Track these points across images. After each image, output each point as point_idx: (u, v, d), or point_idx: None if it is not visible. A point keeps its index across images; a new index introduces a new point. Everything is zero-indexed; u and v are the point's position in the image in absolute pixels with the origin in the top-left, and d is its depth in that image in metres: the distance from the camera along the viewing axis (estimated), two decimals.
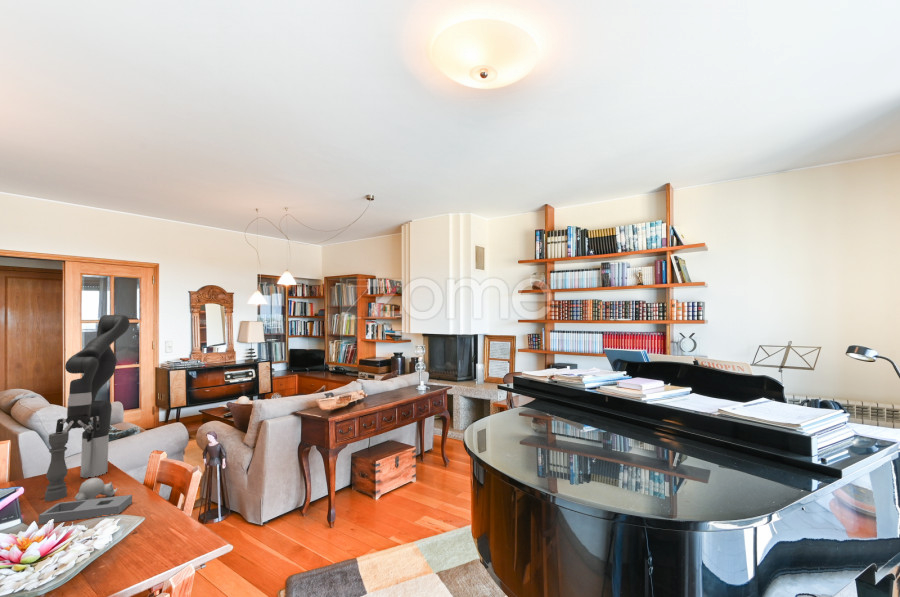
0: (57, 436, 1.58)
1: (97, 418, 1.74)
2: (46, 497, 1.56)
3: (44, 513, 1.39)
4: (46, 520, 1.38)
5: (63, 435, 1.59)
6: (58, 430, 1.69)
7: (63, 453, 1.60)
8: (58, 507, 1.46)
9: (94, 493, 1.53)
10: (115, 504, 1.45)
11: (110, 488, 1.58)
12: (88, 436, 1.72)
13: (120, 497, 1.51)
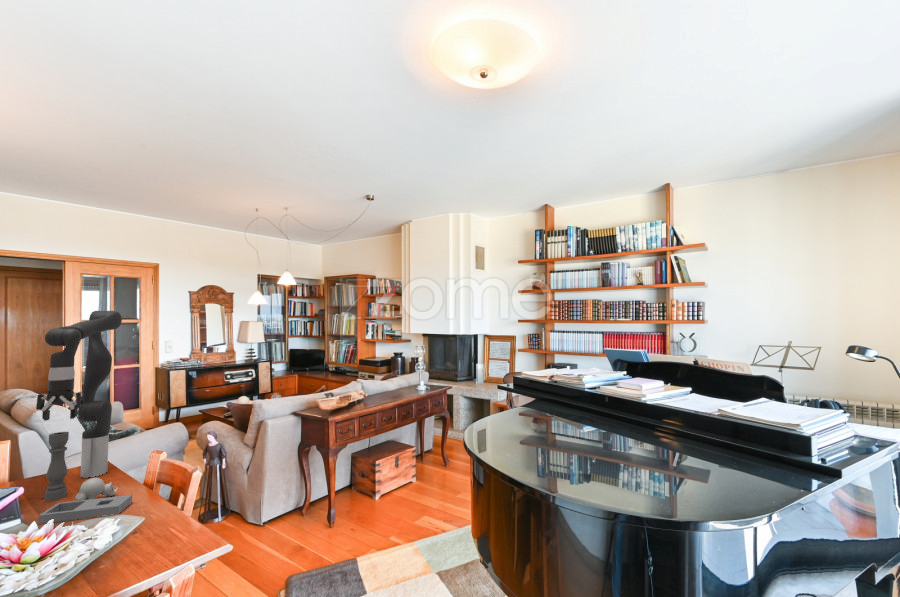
0: (57, 436, 1.58)
1: (81, 394, 1.63)
2: (46, 497, 1.56)
3: (44, 513, 1.39)
4: (46, 520, 1.38)
5: (63, 435, 1.59)
6: (39, 406, 1.58)
7: (63, 453, 1.60)
8: (58, 507, 1.46)
9: (95, 493, 1.53)
10: (115, 504, 1.45)
11: (110, 488, 1.58)
12: (71, 413, 1.61)
13: (120, 497, 1.51)
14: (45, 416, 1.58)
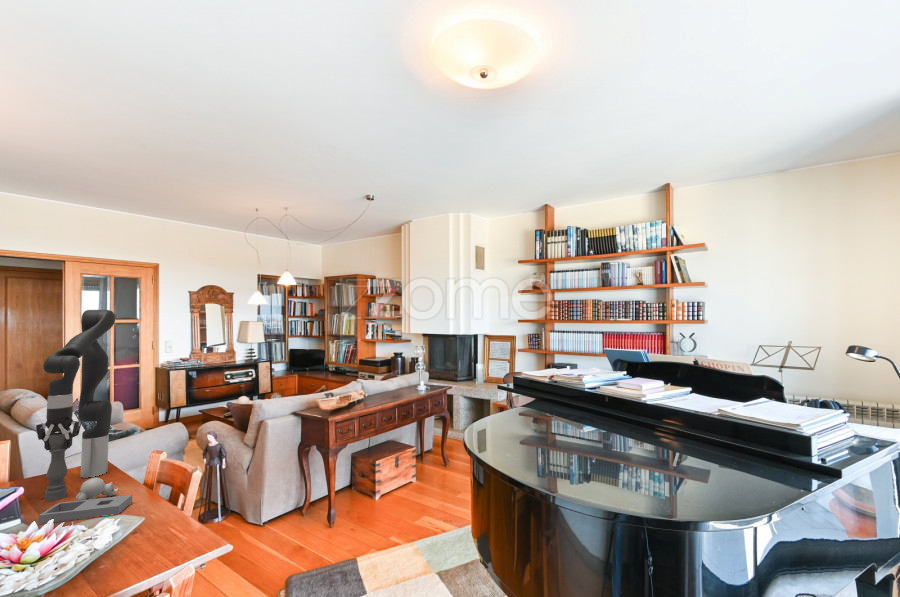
0: (57, 436, 1.58)
1: (79, 424, 1.62)
2: (46, 497, 1.56)
3: (44, 513, 1.39)
4: (46, 520, 1.38)
5: (63, 435, 1.59)
6: (40, 436, 1.57)
7: (63, 453, 1.60)
8: (58, 507, 1.46)
9: (95, 493, 1.53)
10: (115, 504, 1.45)
11: (111, 488, 1.58)
12: (66, 443, 1.60)
13: (120, 497, 1.51)
14: (47, 446, 1.58)
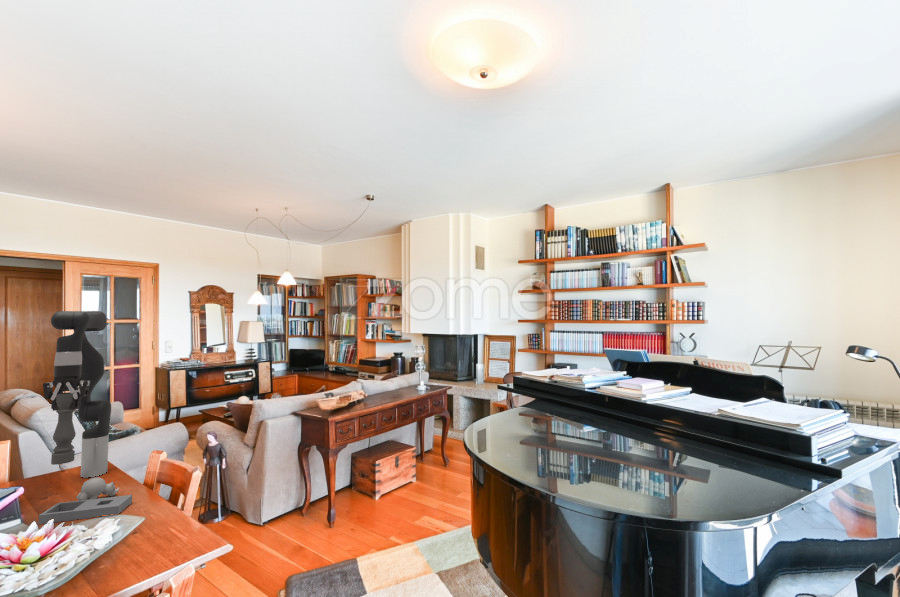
0: (65, 395, 1.48)
1: (88, 383, 1.52)
2: (53, 460, 1.45)
3: (44, 513, 1.39)
4: (46, 520, 1.38)
5: (71, 394, 1.49)
6: (47, 395, 1.48)
7: (71, 414, 1.50)
8: (58, 507, 1.46)
9: (96, 492, 1.54)
10: (115, 504, 1.45)
11: (112, 488, 1.58)
12: (74, 403, 1.50)
13: (120, 497, 1.51)
14: (54, 406, 1.48)
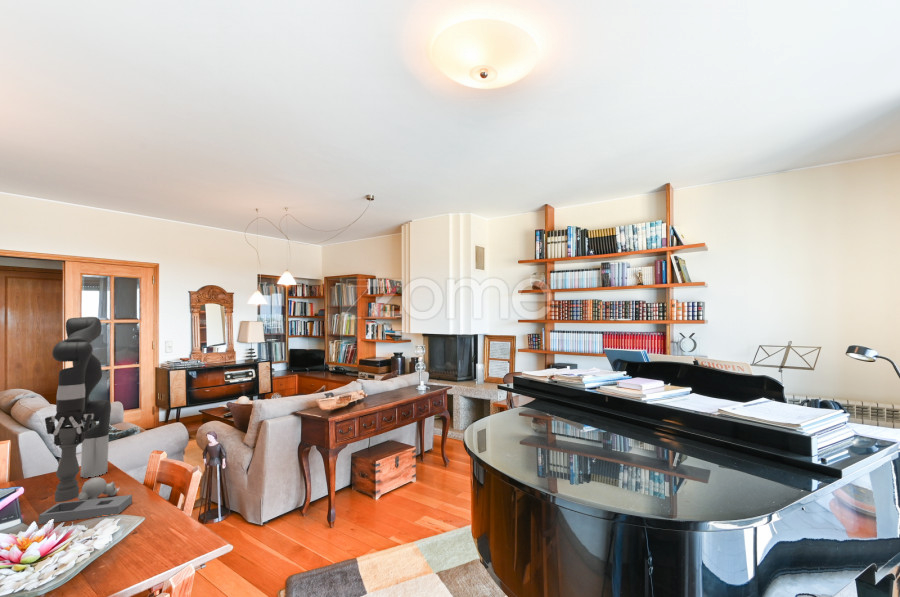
0: (68, 430, 1.43)
1: (92, 416, 1.47)
2: (57, 497, 1.41)
3: (44, 513, 1.39)
4: (46, 520, 1.38)
5: (75, 429, 1.45)
6: (49, 430, 1.43)
7: (75, 449, 1.45)
8: (58, 507, 1.46)
9: (97, 492, 1.54)
10: (115, 504, 1.45)
11: (112, 487, 1.59)
12: (78, 437, 1.45)
13: (120, 497, 1.51)
14: (57, 441, 1.43)
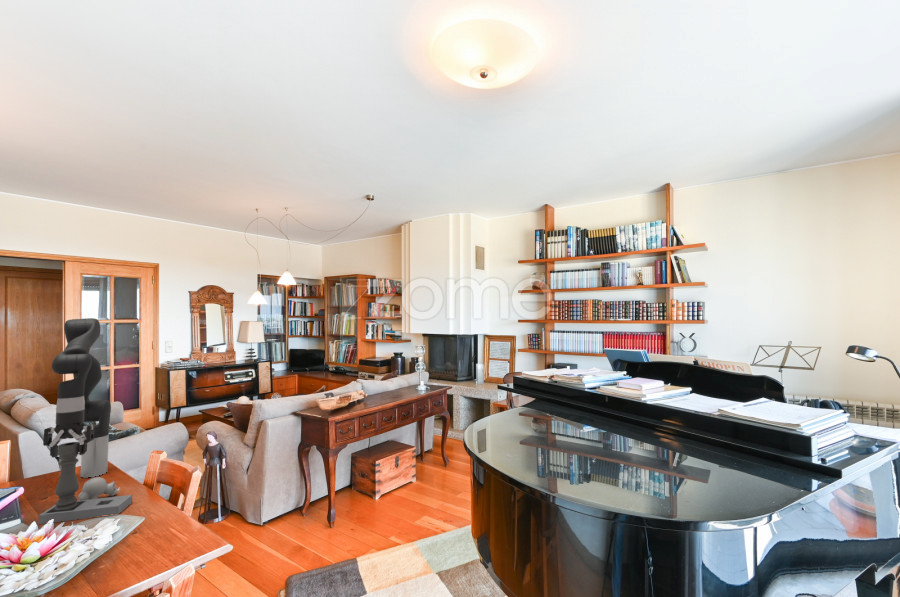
0: (68, 447, 1.43)
1: (92, 427, 1.47)
2: None
3: (44, 513, 1.39)
4: (46, 520, 1.38)
5: (74, 446, 1.44)
6: (46, 441, 1.42)
7: (74, 466, 1.45)
8: None
9: (97, 492, 1.54)
10: (115, 504, 1.45)
11: (113, 487, 1.59)
12: (81, 448, 1.45)
13: (120, 497, 1.51)
14: (53, 452, 1.43)
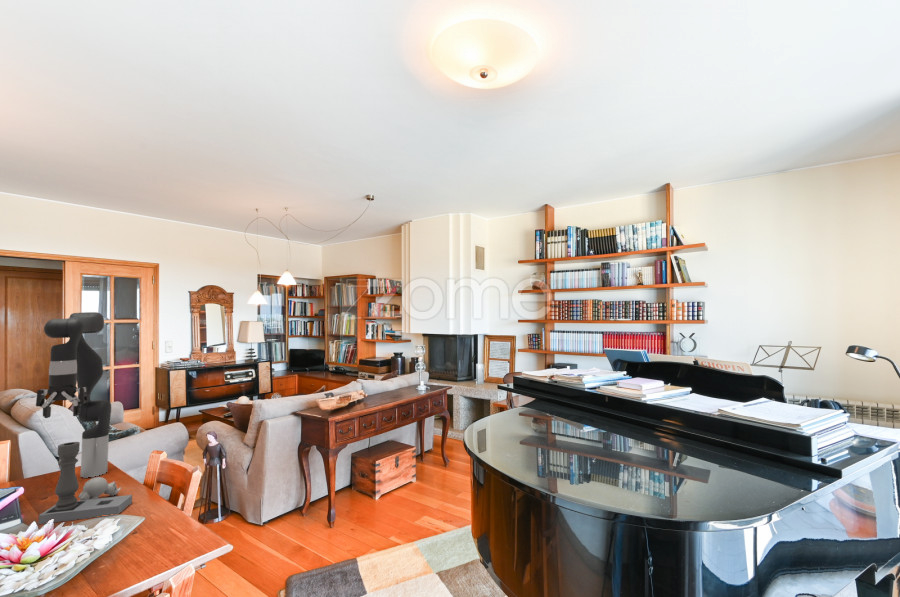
0: (67, 447, 1.43)
1: (84, 389, 1.51)
2: None
3: (44, 513, 1.39)
4: (46, 520, 1.38)
5: (74, 446, 1.44)
6: (39, 402, 1.46)
7: (74, 466, 1.45)
8: None
9: (98, 492, 1.54)
10: (115, 504, 1.45)
11: (113, 487, 1.59)
12: (74, 410, 1.49)
13: (120, 497, 1.51)
14: (46, 413, 1.47)
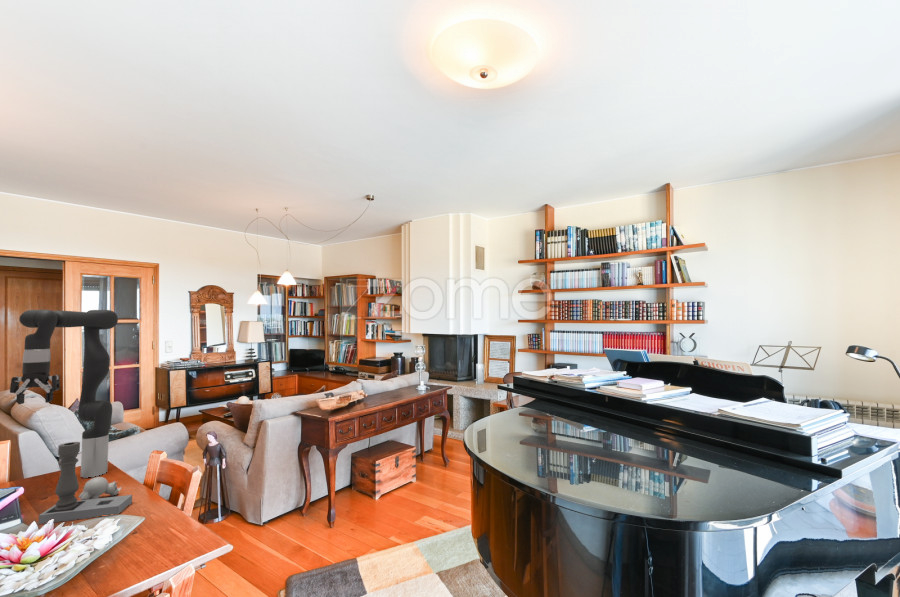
0: (67, 447, 1.43)
1: (57, 377, 1.58)
2: None
3: (44, 513, 1.39)
4: (46, 520, 1.38)
5: (74, 446, 1.44)
6: (13, 389, 1.53)
7: (74, 466, 1.45)
8: None
9: (98, 492, 1.54)
10: (115, 504, 1.45)
11: (114, 487, 1.59)
12: (47, 396, 1.56)
13: (120, 497, 1.51)
14: (19, 399, 1.53)
